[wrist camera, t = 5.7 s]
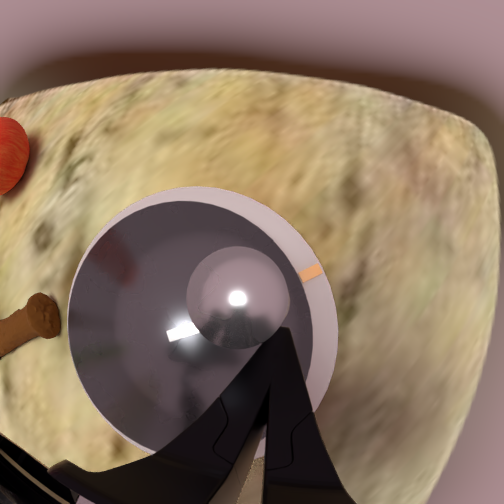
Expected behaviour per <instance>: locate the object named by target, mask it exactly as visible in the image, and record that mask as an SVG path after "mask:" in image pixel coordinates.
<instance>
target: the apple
mask: <svg viewBox="0 0 504 504" xmlns="http://www.w3.org/2000/svg"><path fill="white" fill-rule="evenodd" d="M29 154H30V147H29V142H28V138H27V135H26V133H25V130H24V129H23V127H22V126H21V125H20V124H19V123H18V122H17V121H15V120H14V119H11V118H7V117H0V195H2V194H4V193H6V192H8V191H9V190H11V189H12V188H13V187H14V186H15V185H16V184H17V182H18V181H19V180H20V178H21V177H22V175H23V173H24V170H25V167H26V165H27V162H28V159H29Z"/></svg>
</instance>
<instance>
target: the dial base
mask: <svg viewBox="0 0 504 504" xmlns="http://www.w3.org/2000/svg"><path fill="white" fill-rule="evenodd" d="M172 201H196V202H202V203H208V204H213V205H216V206H219V207H222V208H225V209H228V210H230V211H232V212H234V213H236V214H238V215H240V216H242V217H244V218H246V219H247V220H249V221H250V222H252V223H253V224H255V225H256V226H258V227H259V228H260V229H261V230H262V231H264V232H265V233H266V234H267V235H268V236H269V237H270V238H271V239H273V241H274V242H275V243H276V244H277V245H278V246H279V248H280V249H281V250H282V251H283V252H284V254H285V255H286V256H287V258H288V260H289V261H290V263H291V264H292V266H293V267H294V269H295V271H296V273H297V275H298V277H299V279H300V281H301V283H302V286H303V288H304V291H305V294H306V297H307V300H308V304H309V307H310V313H311V319H312V326H313V350H312V358H311V365H310V369H309V372H308V376H307V379H306V386H307V390H308V393H309V397H310V401H311V404H312V408H313V412H315V411H316V409H317V408H318V406H319V404H320V402H321V401H322V399H323V397H324V395H325V393H326V391H327V389H328V386H329V383H330V380H331V377H332V374H333V371H334V366H335V361H336V356H337V349H338V322H337V313H336V306H335V302H334V298H333V295H332V291H331V287H330V284H329V282H328V280H327V277H326V275H325V272H324V270H323V268H322V266H321V264H320V262H319V261H318V259H317V257H316V256H315V254H314V252H313V251H312V249H311V248H310V246H309V245H308V244H307V243H306V241H305V240H304V239H303V238H302V236H301V235H300V234H299V233H298V232H297V231H296V230H295V229H294V228H293V227H292V226H291V225H290V224H289V223H288V222H287V221H286V220H285V219H284V218H282V217H281V216H280V215H278V214H277V213H275V212H274V211H273V210H271V209H270V208H268V207H267V206H265V205H263V204H261V203H259V202H257V201H255V200H253V199H252V198H249V197H247V196H244V195H241V194H238V193H236V192H233V191H228V190H223V189H219V188H213V187H198V186H195V187H180V188H175V189H170V190H165V191H161V192H158V193H155V194H153V195H150V196H147V197H145V198H143V199H141V200H139V201H137V202H135V203H133V204H131V205H130V206H128V207H127V208H125V209H124V210H123V211H121V212H120V213H118V214H117V215H116V216H115V217H114V218H113V219H111V220H110V221H109V222H108V223H107V224H106V225H105V226H104V227H103V228H102V230H101V231H100V232H99V233H98V234H97V235H96V237H95V238H94V239H93V241H92V242H91V244H90V245H89V247H88V248H87V250H86V252H85V254H84V256H83V258H82V259H81V261H80V263H79V266H78V268H77V271H76V274H75V276H74V279H73V283H72V287H71V291H70V296H69V303H70V298H71V293H72V289H73V286H74V283H75V279H76V276H77V274H78V272H79V270H80V267H81V265H82V263H83V261H84V260H85V258H86V256H87V255H88V253H89V251H90V250H91V249H92V247H93V246H94V245H95V244H96V242H97V241H98V240H99V239H100V238H101V237H102V236H103V235H104V234H105V233H106V232H107V231H108V230H109V229H110V228H111V227H112V226H113V225H115V224H116V223H117V222H119V221H120V220H121V219H123V218H125V217H127V216H128V215H130V214H132V213H134V212H136V211H138V210H141V209H143V208H145V207H148V206H152V205H155V204H159V203H163V202H172ZM69 303H68V312H69ZM68 312H67V330H68ZM68 340H69V336H68ZM69 347H70V343H69ZM70 352H71V350H70ZM71 356H72V354H71ZM72 361H73V358H72ZM73 364H74V362H73ZM74 367H75V365H74ZM75 370H76V368H75ZM76 373H77V371H76ZM77 376H78V374H77ZM78 378H79V376H78ZM79 380H80V379H79ZM80 382H81V381H80ZM81 385H82V383H81ZM82 387H83V385H82ZM83 389H84V387H83ZM84 391H85V389H84ZM85 393H86V391H85ZM86 394H87V393H86ZM87 396H88V394H87ZM88 398H89V399H90V397H89V396H88ZM90 401H91V403H92V404H93V402H92V400H91V399H90ZM93 406H94V407H95V408H96V410H97V411H98V412H99V414H100V415H101V416H102V417H103V419H104V420H105V421H106V422H107V423H108V424H109V425H110V426H111V427H112V428H113V429H114V430H115V431H116V432H118V433H119V434H120V435H121V436H122V437H124V438H125V439H126V440H127V441H129V442H130V443H132V444H133V445H135V446H136V447H138V448H140V449H141V450H143V451H145V452H147V453H149V454H151V455H152V454H154V453H156V452H155V451H153V450H150V449H148V448H146V447H144V446H142V445H140V444H138V443H136V442H135V441H133V440H131V439H130V438H128V437H127V436H125V435H124V434H123V433H121V432H120V431H119V430H118V429H116V428H115V427H114V426H113V425H112V424H111V423H110V422H109V421H108V420H107V419H106V418H105V417H104V416H103V415H102V414H101V412H100V411H99V410H98V409H97V407H96V406H95V405H94V404H93ZM265 439H266V437H265V438H264V439H262V440H261V441H260V443H259V446H258V449H257V451H256V454H255V457H254V459H257V458H259V457H262V456H264V454H265ZM254 459H253V460H254Z"/></svg>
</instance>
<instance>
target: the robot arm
mask: <svg viewBox="0 0 504 504" xmlns="http://www.w3.org/2000/svg"><path fill="white" fill-rule="evenodd" d="M265 426H266V439H265V454H264V469H263V482H262V495H261V504H356V503H355V501H354V500H353V499H352V498H351V497H350V495H349V494H348V493H347V491H346V490H345V488H344V486H343V485H342V483H341V481H340V479H339V477H338V474H337V472H336V470H335V468H334V466H333V463H332V461H331V459H330V457H329V454H328V452H327V450H326V447H325V445H324V442H323V440H322V437H321V435H320V432H319V428H318V425H317V422H316V418H315V415H314V412H313V408H312V404H311V401H310V397H309V393H308V390H307V386H306V383H305V379H304V375H303V372H302V368H301V365H300V361H299V358H298V354H297V351H296V347H295V344H294V340H293V337H292V333H291V330H290V328H289V327H283V326H280V327H279V328H278V329H277V331H276V332H275V333H274V334H273V335H272V336H271V337H270V338H269V339H267V340H266V341H264V342H263V343H262V344H261V345H260V346H259V348H258V349H257V350H256V351H255V353H254V354H253V355H252V356H251V358H250V359H249V360H248V361H247V363H246V364H245V365H244V366H243V368H242V369H241V370H240V371H239V372H238V374H237V375H236V376H235V377H234V378H233V380H232V381H231V382H230V383H229V384H228V386H227V387H226V388H225V389H224V390H223V391H222V393H221V394H220V395H219V397H217V398H216V400H215V401H214V402H213V403H212V404H211V405H210V406H209V407H208V408H207V410H206V411H205V412H204V413H203V414H202V415H201V416H200V417H199V418H198V419H196V420H195V421H194V422H193V423H192V424H191V425H190V426H189V427H188V428H186V429H185V430H184V431H183V432H182V433H180V434H179V435H178V436H177V437H175V438H174V439H173V440H172V441H171V442H169V443H168V444H167V445H166V446H164V447H163V448H162V449H160V450H159V451H157V452H156V453H154V454H152V455H150V456H148V457H145V458H143V459H140V460H137V461H134V462H131V463H128V464H125V465H122V466H119V467H116V468H113V469H110V470H106V471H103V472H88V471H85V470H83V469H82V468H80V467H78V466H77V465H75V464H73V463H72V462H70V461H68V460H63V461H61V462H59V463H57V464H55V465H53V466H52V467H50V468H48V467H47V466H45V465H44V464H42V463H41V462H40V461H38V460H37V459H36V458H34V457H33V456H32V455H30V454H29V453H28V452H26V451H25V450H24V449H22V448H21V447H20V446H18V445H17V444H16V443H14V442H13V441H11V440H10V439H8V438H7V437H6V436H4V435H3V434H2V433H0V504H236V502H237V500H238V497H239V495H240V492H241V490H242V487H243V485H244V482H245V480H246V477H247V475H248V472H249V470H250V467H251V465H252V462H253V459H254V457H255V454H256V451H257V449H258V446H259V443H260V440H261V438H262V435H263V432H264V429H265Z"/></svg>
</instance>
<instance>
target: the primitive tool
mask: <svg viewBox="0 0 504 504" xmlns="http://www.w3.org/2000/svg"><path fill="white" fill-rule="evenodd" d="M60 327H61V324H60V318H59V311H58V309H57V306H56V304H55V303H54V302H53V301H52V300H51V299H50V298H49V297H48V296H47V295H45V294H43V293H41V292H40V293H36V294H34V295H33V296H31V297H30V298H29V299H28V302H27V305H26V306H25V307H24V308H23V309H22V310H20V309H18V310H17V311H15V312H14V313H13V314H12V315H10V316H9V317H8V318H6V319H3V320H0V357H1V356H3V355H5V354H6V353H9V352H10V351H11V350H13V349H14V348H16V347H17V346H19V345H20V344H23V343H24V342H26V341H27V340H29V339H32V338H34V337H37V336H41V337H43V338H46V339H50V338H54V337H56V336H57V335H58V333H59V331H60Z"/></svg>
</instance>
